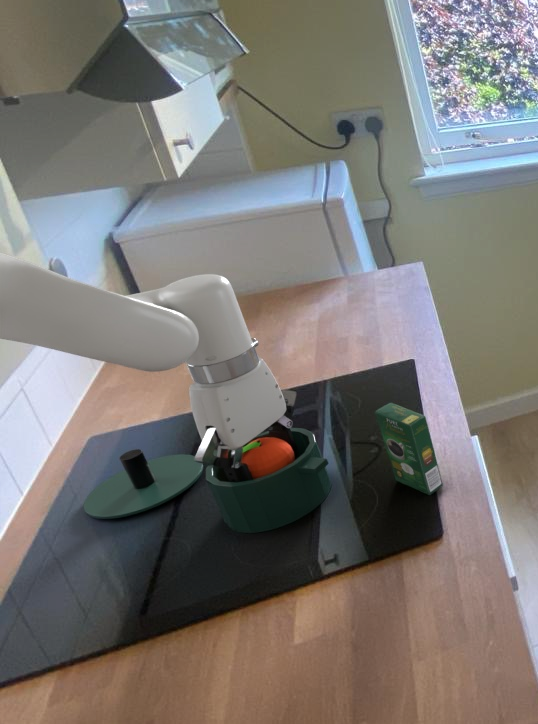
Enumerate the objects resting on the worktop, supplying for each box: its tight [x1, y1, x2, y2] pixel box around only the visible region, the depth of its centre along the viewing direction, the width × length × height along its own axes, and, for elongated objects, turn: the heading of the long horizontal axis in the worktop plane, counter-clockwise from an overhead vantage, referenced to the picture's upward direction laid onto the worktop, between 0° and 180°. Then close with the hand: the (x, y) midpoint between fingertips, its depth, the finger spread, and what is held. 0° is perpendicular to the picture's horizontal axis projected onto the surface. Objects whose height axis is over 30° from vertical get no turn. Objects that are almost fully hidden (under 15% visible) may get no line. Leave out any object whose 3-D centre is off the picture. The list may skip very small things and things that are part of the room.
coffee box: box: [374, 402, 444, 496], centre depth 109 cm, size 8×3×13 cm, turn 63°
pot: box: [203, 427, 332, 534], centre depth 108 cm, size 13×19×8 cm
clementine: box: [241, 437, 295, 480], centre depth 106 cm, size 8×7×7 cm
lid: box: [83, 448, 204, 520], centre depth 111 cm, size 14×14×7 cm
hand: (266, 467), depth 107 cm, fingers closed on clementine, 7 cm apart
